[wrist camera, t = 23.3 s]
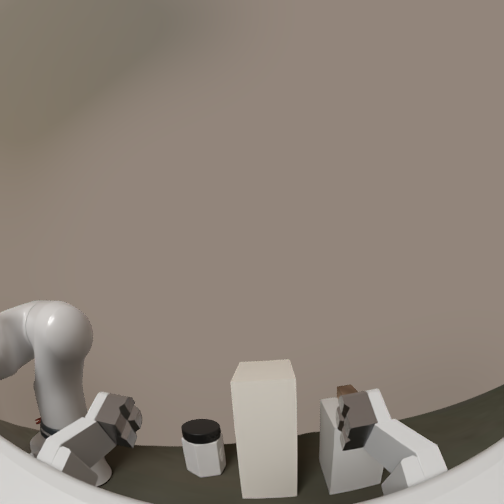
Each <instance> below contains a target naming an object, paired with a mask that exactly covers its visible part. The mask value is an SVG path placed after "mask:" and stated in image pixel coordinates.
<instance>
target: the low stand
mask: <svg viewBox="0 0 504 504" xmlns="http://www.w3.org/2000/svg"><path fill="white" fill-rule="evenodd" d="M338 406H339V402H338V398H337V397H335V398H328V399H321V400H320V448H319V461H320V464H321V468H322V471H323V474H324V477H325V481H326V484H327V487H328V491H329V494H330V495H331V494H337V493H342V492H347V491H352V490H356V489H360V488H364V487H368V486H372V485H376V484H379V483H380V482H381V477H382V472H383V466H382V465H381V464H380V463H379V462H378V461H377V460H376V459H374V458H373V457H372V456H371V455H370V454H369V453H368V452H367V451H366V450H365V449H363V448H364V447H363V448H358V449H352V450H347V451H342V447H341V442H340V435H341V431H339V430H338V429H337V424H336V409H337V407H338ZM390 417H391V416H390Z"/></svg>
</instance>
